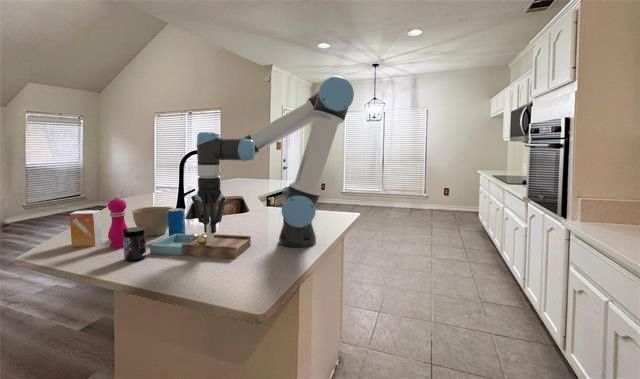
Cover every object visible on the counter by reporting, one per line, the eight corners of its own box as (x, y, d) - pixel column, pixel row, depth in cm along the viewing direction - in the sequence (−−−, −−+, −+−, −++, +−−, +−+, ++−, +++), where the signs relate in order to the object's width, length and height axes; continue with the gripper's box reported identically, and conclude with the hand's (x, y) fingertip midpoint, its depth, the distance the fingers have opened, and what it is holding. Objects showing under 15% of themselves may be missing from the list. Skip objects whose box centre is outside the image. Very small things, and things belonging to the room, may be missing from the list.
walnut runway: (250, 245, 129) (250, 236, 128) (235, 258, 114) (235, 247, 113) (202, 243, 131) (202, 233, 131) (182, 255, 117) (181, 244, 116)
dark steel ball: (197, 231, 129) (189, 235, 130) (192, 233, 126) (184, 238, 126) (202, 239, 130) (194, 244, 130) (197, 242, 126) (189, 247, 126)
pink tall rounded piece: (134, 245, 128) (131, 194, 125) (116, 250, 121) (113, 196, 119) (122, 242, 131) (119, 193, 128) (104, 247, 124) (100, 195, 122)
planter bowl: (181, 232, 148) (180, 208, 146) (146, 240, 134) (145, 214, 133) (161, 227, 156) (160, 204, 155) (126, 234, 143) (124, 210, 141)
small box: (71, 247, 124) (68, 213, 122) (79, 242, 130) (77, 210, 128) (95, 246, 126) (93, 213, 124) (102, 241, 132) (100, 209, 130)
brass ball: (208, 231, 120) (198, 234, 121) (203, 234, 116) (193, 237, 117) (211, 242, 120) (202, 244, 121) (207, 245, 117) (196, 248, 117)
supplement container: (129, 256, 115) (127, 227, 114) (149, 255, 116) (147, 226, 115) (120, 262, 109) (118, 232, 107) (142, 261, 110) (140, 231, 108)
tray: (203, 242, 132) (203, 235, 132) (181, 255, 116) (181, 247, 116) (175, 241, 134) (175, 233, 133) (150, 253, 118) (149, 245, 117)
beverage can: (179, 239, 136) (178, 211, 135) (165, 238, 137) (164, 210, 136) (188, 235, 142) (187, 208, 141) (175, 234, 144) (174, 207, 142)
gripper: (231, 176, 118) (231, 240, 121) (197, 175, 120) (198, 237, 123) (222, 178, 111) (223, 245, 114) (186, 177, 112) (187, 243, 115)
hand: (210, 241), depth 118 cm, fingers closed
